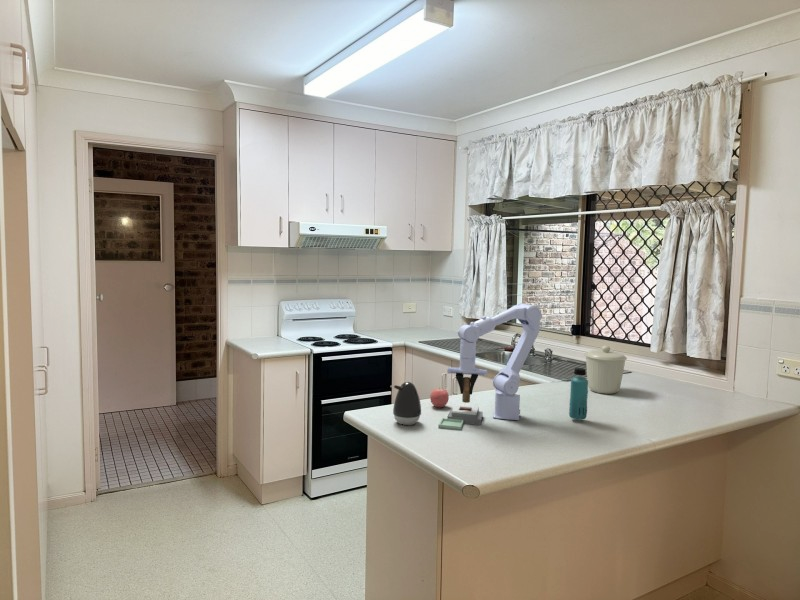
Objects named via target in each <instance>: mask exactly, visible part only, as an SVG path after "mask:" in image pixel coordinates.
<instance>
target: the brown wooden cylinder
mask: <svg viewBox="0 0 800 600" xmlns="http://www.w3.org/2000/svg"><path fill="white" fill-rule="evenodd" d="M470 386H471V376H470V377H469V376H463V394H462V398H461V399H462V401H461V402H462V403H465V404H469V403H470V402H471V395H470Z"/></svg>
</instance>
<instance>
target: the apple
mask: <svg viewBox="0 0 800 600" xmlns="http://www.w3.org/2000/svg"><path fill="white" fill-rule="evenodd" d="M429 397H430V402H431V404H432V405H433V406H434V407H436V408H443V407H445V406H447V404H448V402H449V393H448V391H447V390H446V389H443V388H440V387H439V388H435V389H432V390H431V392H430V395H429Z"/></svg>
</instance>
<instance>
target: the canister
mask: <svg viewBox="0 0 800 600" xmlns="http://www.w3.org/2000/svg"><path fill="white" fill-rule="evenodd" d="M584 356H585V361H586V362H585V364H586V379H587V380H588V389H589V390H590V391H592V392H593V393H598V394H604V395H605V394H606V395H610V394H617V393H618V392H619V390H620V389H621V385H622V380H623V375H624V369H625V362H626V360H627V359H628V357H627V356H626V355H624V354H623V353H622V352H618V351H612V350H611V347H610V346H608V345H602V347H601V349H595V350H590V351H587V352H585V353H584Z"/></svg>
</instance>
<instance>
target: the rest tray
mask: <svg viewBox="0 0 800 600" xmlns="http://www.w3.org/2000/svg"><path fill="white" fill-rule="evenodd" d="M464 424H465V423H464V420H458V419H447V418H446V417H441V419H440V421H439V423H438V424H437V425H438V426H437V428H438V429H446V430H454V431H455V430H456V431H461V430H462V428H463V426H464Z"/></svg>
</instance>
